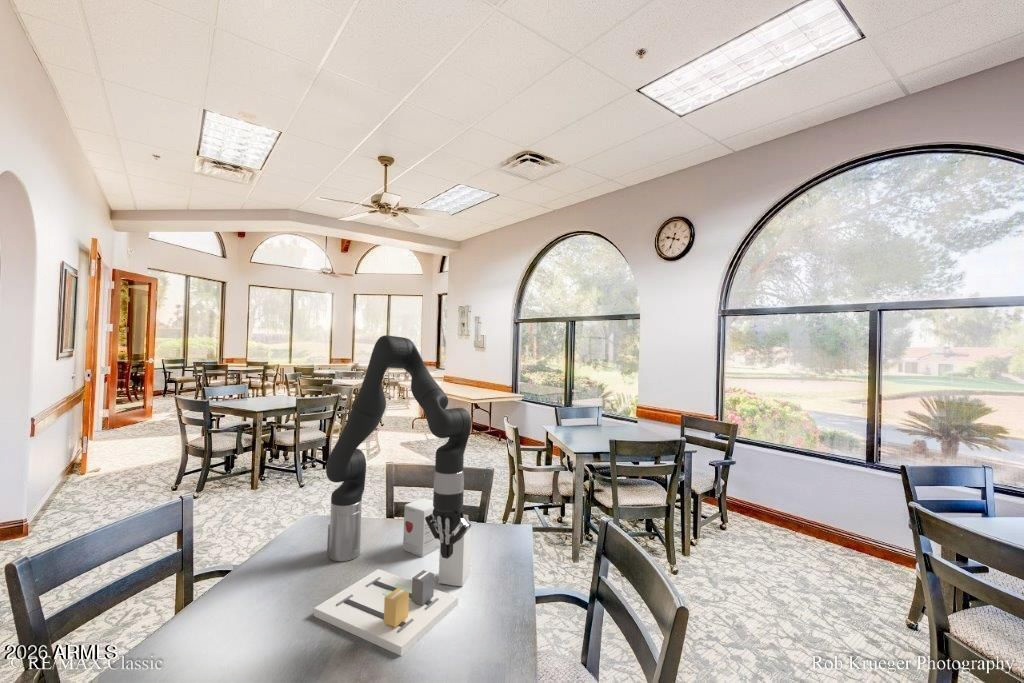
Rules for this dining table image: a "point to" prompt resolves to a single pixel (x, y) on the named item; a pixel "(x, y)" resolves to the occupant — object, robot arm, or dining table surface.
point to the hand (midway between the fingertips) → (446, 556)
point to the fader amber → (396, 607)
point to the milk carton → (456, 561)
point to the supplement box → (419, 528)
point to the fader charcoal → (422, 587)
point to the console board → (365, 611)
